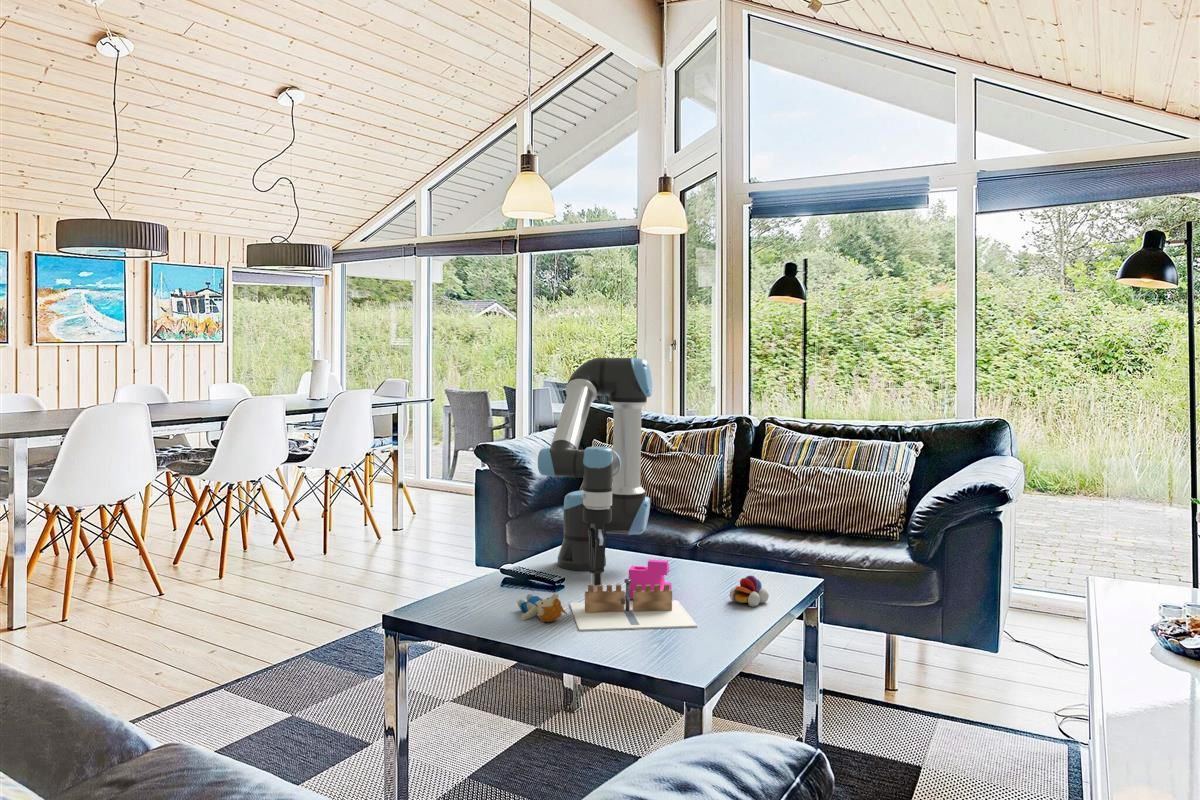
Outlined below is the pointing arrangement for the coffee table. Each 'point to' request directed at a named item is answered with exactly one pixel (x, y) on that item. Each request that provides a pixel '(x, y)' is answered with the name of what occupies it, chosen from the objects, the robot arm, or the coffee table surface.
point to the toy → (541, 607)
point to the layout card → (631, 618)
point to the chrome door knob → (627, 593)
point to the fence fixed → (652, 598)
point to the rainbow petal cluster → (749, 592)
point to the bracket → (649, 575)
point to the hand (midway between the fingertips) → (596, 596)
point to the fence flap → (604, 599)
